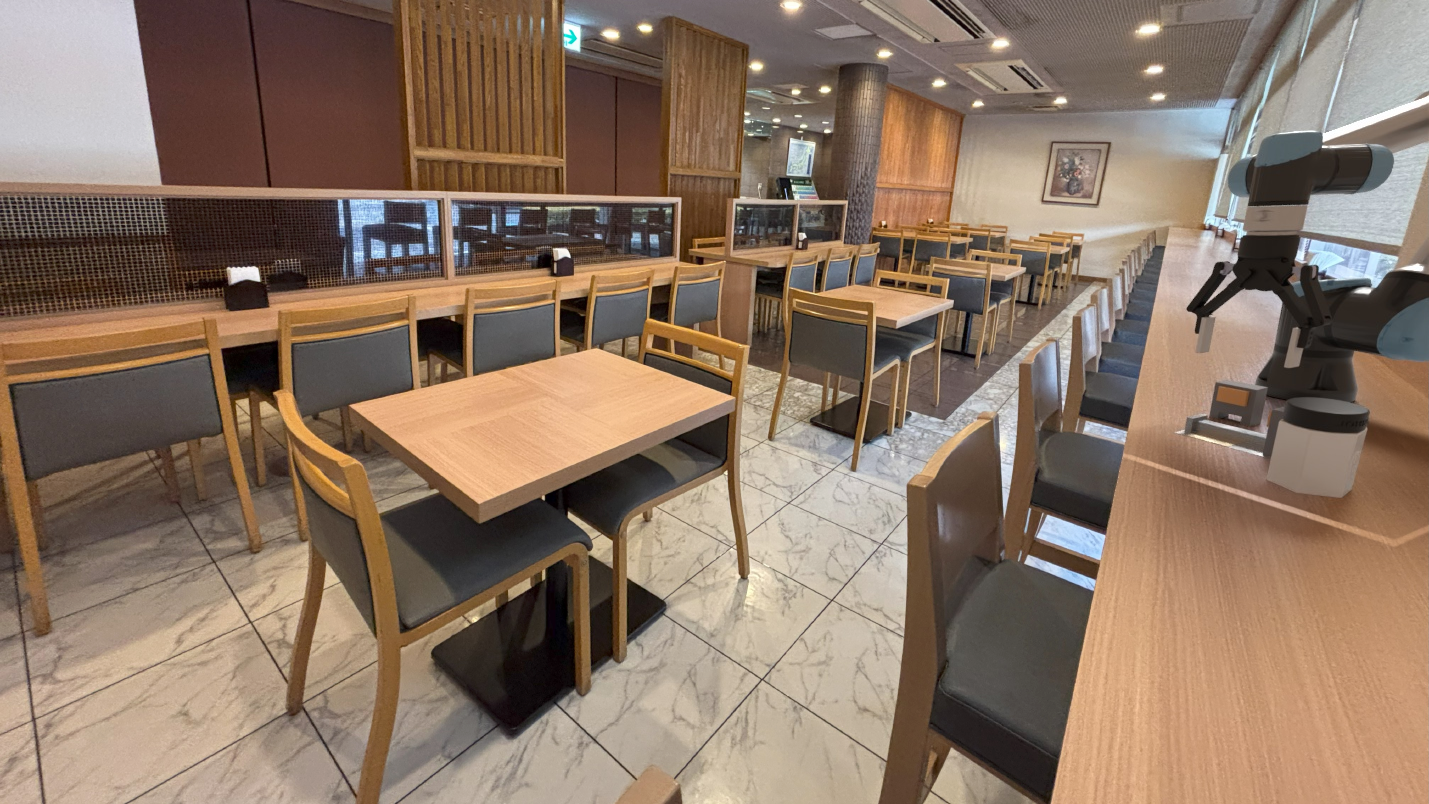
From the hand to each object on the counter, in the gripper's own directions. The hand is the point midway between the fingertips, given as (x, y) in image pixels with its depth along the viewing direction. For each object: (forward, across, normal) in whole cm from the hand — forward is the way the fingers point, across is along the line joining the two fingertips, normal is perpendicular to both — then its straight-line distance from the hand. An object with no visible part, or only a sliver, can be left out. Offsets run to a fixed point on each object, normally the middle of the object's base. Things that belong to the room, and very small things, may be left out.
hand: (1244, 359), depth 109 cm
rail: (+12, +9, -10) cm, 18 cm away
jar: (+12, +21, -20) cm, 32 cm away
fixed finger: (+11, +13, -10) cm, 20 cm away
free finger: (+12, 0, 0) cm, 12 cm away
